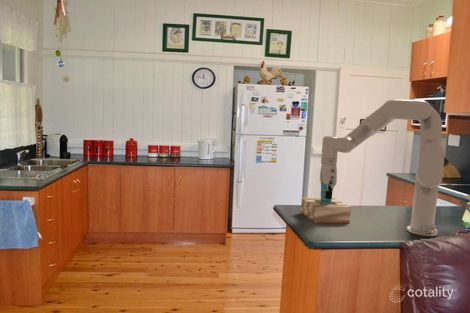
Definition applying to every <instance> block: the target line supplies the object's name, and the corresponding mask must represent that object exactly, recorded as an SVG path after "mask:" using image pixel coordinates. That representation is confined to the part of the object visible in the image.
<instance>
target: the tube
mask: <svg viewBox="0 0 470 313" xmlns="http://www.w3.org/2000/svg"><path fill="white" fill-rule="evenodd" d="M320 171H321V182H320V198H321V203H320V204H321V205H331V199H326V198H325V197H326V191H327V185H326V184H324V183H323V179H322V170H321V169H320ZM329 184H331V183H329ZM329 187H330V186H329Z"/></svg>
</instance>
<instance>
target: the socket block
mask: <svg viewBox="0 0 470 313" xmlns="http://www.w3.org/2000/svg"><path fill="white" fill-rule="evenodd" d="M320 203H321V197H316V198H315V197H302V198H301V207H300V208H301V209H300V214H301V213H302V215H303V214H304V215H305V216H306V218H307V219H308V218H309V219H310V221H311V222H312V221H313V222H314V223H313V222H312V223H313V224H350V220H351V211H352V210H351V209H352V207H351V206H350V205H348V204H347V203H344V202H342V201H340V200H339V199H337V198H335V197H332V199H331V205H321V204H320ZM304 215H303V216H304ZM305 216H304V217H305ZM309 219H308V220H309Z"/></svg>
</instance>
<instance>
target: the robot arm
mask: <svg viewBox="0 0 470 313" xmlns="http://www.w3.org/2000/svg"><path fill="white" fill-rule="evenodd" d="M395 120H407V121H408V120H410V121H418V123H419V125H420V126H419V127H420V137H419V144H418V145H419V146H418V155H419V156H418V157H419V158H418V168H417V169H416V171H415V178H414V179H415V180H414V193H413V200H412V209H411V220H410V225H408V226H406V231H407V232H408V233H411V234H414V235H418V236H423V237H436V236H437V235H438V233H439V230H438V229H436V225H435V222H436V220H435V219H436V213H437V212H436V211H437V203H438V197H439V196H438V194H439V185H440V184H441V183H442V181H443V176H444V168H445V149H444V147H443V145H442V138H443V137H442V136H443V134H442V132H443V127H442V126H443V124H442V123H443V122H442V118H441V116H440V114H439V112H438V111H437V110H436V109H435V108H434V106H432V105H431V103H430V102H428V101H425V100H421V99H420V100H418V99H389V100H387V101H384V103H383V104H382V105H381V106H380V107H378V108H377V109H376V110H375V111H374V112H372V113H371V114H369V115H368V116H367V117H366V118H364V119H363V120H362V122H360V123H359V125H358V126H356V127H355V128H354V129H353V130H352V131H350V132H349V133H348V134H347V135H345V136H343V137H337V136H333V135H324V136H323V138H322V146H321V157H320V158H321V159H320V164H321V166H320V172H319V173H320V174H319V182H320V183H321V170H322V179H323V183H324V184H326V185H327V191H326V197H325V198H326V199H332V198H333V191H334V188H335V187H336V185H337V182H338V181H337V179H338V178H337V177H338V168H337V164H338V153H339V152H340V153H343V154H349V153H350V152H352V151H354V149H356V148H357V147H358V146H359V145H361V144H362V143H364V141H366V140H367V139H369V138H371V137H373V136H374V135H376V134H378V132H381V130H382V129H384V128H385V127H387V125H389V124H391V123H392V122H393V121H395ZM329 183H331V184H329ZM329 186H330V187H329Z"/></svg>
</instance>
